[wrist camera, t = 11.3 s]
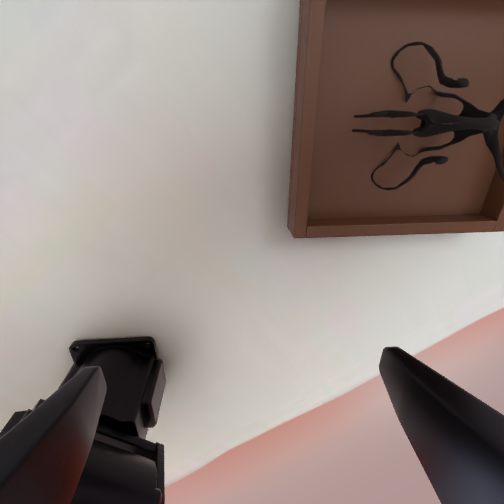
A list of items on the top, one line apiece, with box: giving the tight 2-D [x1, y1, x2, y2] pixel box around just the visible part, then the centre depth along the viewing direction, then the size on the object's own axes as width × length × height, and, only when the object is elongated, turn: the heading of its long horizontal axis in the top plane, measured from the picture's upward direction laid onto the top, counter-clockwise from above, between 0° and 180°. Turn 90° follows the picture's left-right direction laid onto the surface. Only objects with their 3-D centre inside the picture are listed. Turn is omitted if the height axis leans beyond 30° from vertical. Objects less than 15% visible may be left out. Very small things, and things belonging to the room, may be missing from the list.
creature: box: [352, 42, 504, 190], centre depth 15 cm, size 8×5×8 cm
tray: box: [287, 0, 504, 238], centre depth 17 cm, size 15×14×2 cm
